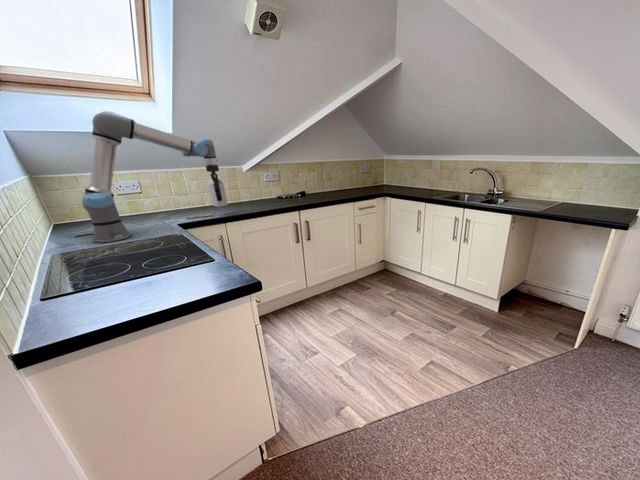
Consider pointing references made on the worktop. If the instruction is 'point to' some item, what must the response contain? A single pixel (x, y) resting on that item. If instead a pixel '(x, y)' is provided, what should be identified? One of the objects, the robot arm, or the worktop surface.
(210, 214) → the wooden spoon
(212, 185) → the milk carton
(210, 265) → the worktop surface
